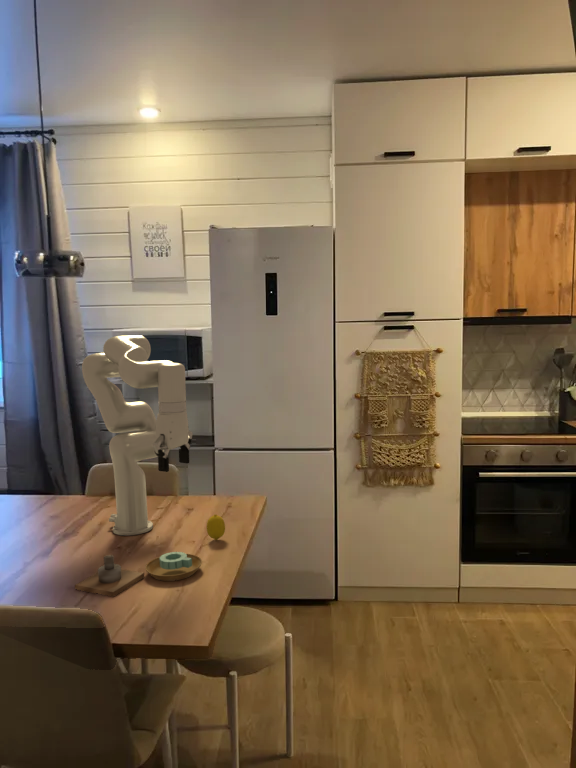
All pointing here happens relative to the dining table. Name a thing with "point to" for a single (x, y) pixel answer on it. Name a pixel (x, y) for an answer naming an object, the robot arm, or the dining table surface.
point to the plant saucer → (173, 574)
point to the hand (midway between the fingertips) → (174, 466)
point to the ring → (175, 560)
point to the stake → (109, 579)
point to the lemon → (215, 527)
